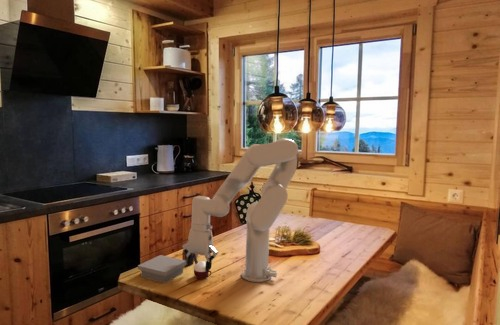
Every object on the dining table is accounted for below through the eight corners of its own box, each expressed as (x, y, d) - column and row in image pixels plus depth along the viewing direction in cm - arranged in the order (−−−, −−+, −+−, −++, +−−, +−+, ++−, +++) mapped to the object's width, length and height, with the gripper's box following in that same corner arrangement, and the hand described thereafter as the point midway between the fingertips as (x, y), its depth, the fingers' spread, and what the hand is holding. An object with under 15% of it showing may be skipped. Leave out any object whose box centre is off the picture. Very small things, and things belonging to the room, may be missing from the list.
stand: (186, 272, 155) (186, 260, 154) (165, 284, 142) (165, 272, 142) (160, 265, 161) (160, 254, 160) (137, 277, 148) (137, 265, 148)
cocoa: (213, 279, 150) (215, 251, 148) (201, 283, 145) (203, 254, 144) (199, 271, 156) (201, 244, 155) (187, 274, 151) (189, 247, 150)
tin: (187, 268, 159) (187, 249, 158) (180, 267, 160) (181, 248, 159) (199, 256, 174) (199, 239, 173) (193, 255, 175) (193, 238, 174)
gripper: (223, 227, 148) (221, 269, 150) (188, 221, 155) (187, 260, 157) (214, 232, 141) (212, 275, 143) (177, 225, 149) (176, 266, 150)
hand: (199, 267), depth 150 cm, fingers closed on cocoa, 8 cm apart
